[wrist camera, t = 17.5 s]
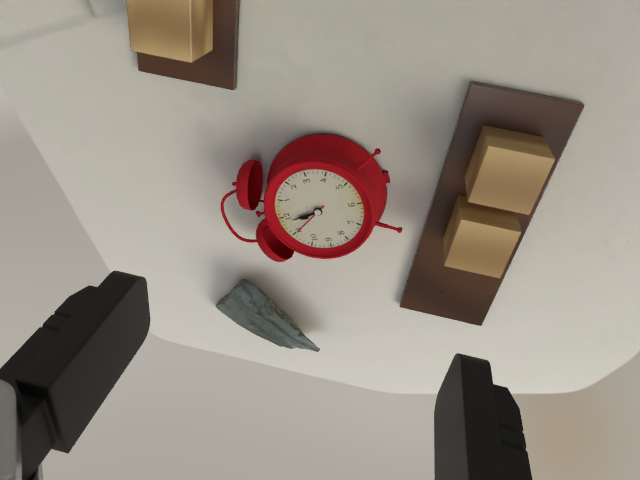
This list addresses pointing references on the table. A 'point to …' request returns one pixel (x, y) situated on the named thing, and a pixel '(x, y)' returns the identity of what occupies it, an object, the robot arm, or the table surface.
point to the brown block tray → (186, 39)
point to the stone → (263, 317)
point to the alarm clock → (314, 198)
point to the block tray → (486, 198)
